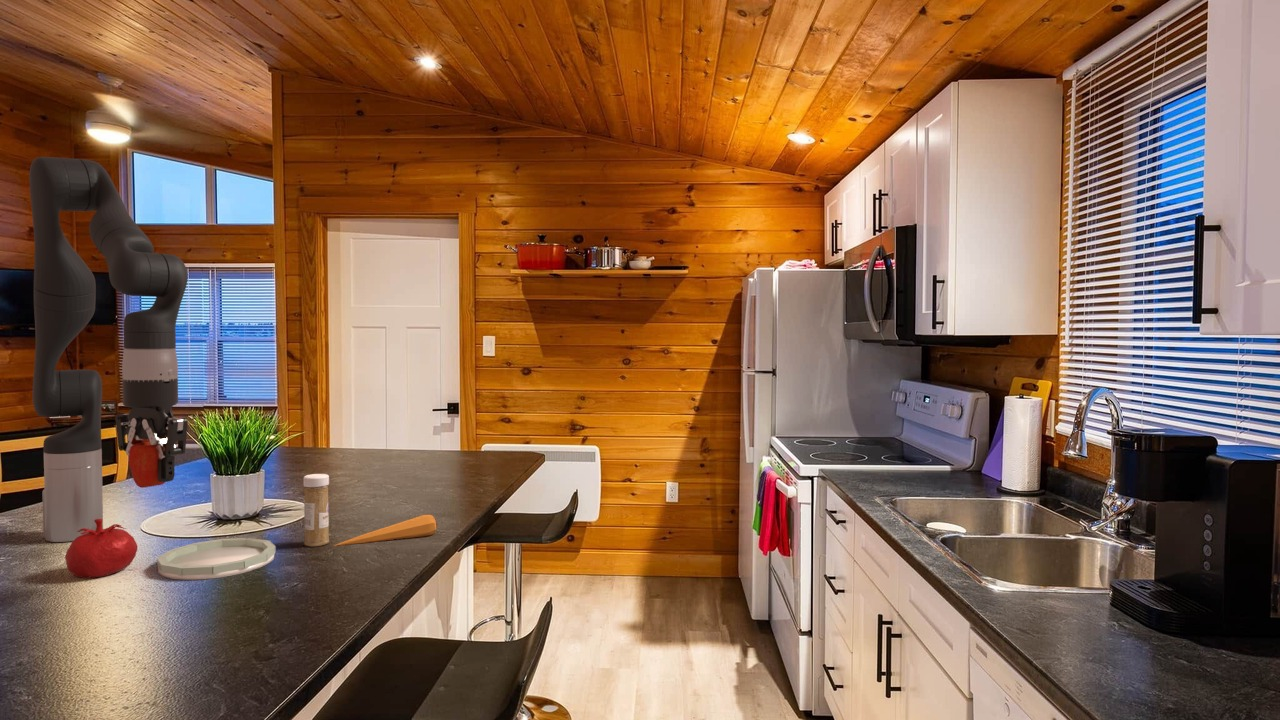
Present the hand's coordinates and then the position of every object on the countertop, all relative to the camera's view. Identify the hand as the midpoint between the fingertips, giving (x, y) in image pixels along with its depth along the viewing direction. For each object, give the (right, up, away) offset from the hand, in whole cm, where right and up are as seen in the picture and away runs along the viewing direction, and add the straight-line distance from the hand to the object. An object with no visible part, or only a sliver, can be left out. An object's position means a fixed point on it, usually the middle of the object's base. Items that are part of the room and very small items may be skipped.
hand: (151, 479), depth 122 cm
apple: (0, -1, 0) cm, 1 cm away
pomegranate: (-13, -17, +6) cm, 22 cm away
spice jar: (+17, -17, +24) cm, 34 cm away
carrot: (+29, -17, +28) cm, 43 cm away
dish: (+4, -17, +11) cm, 21 cm away
